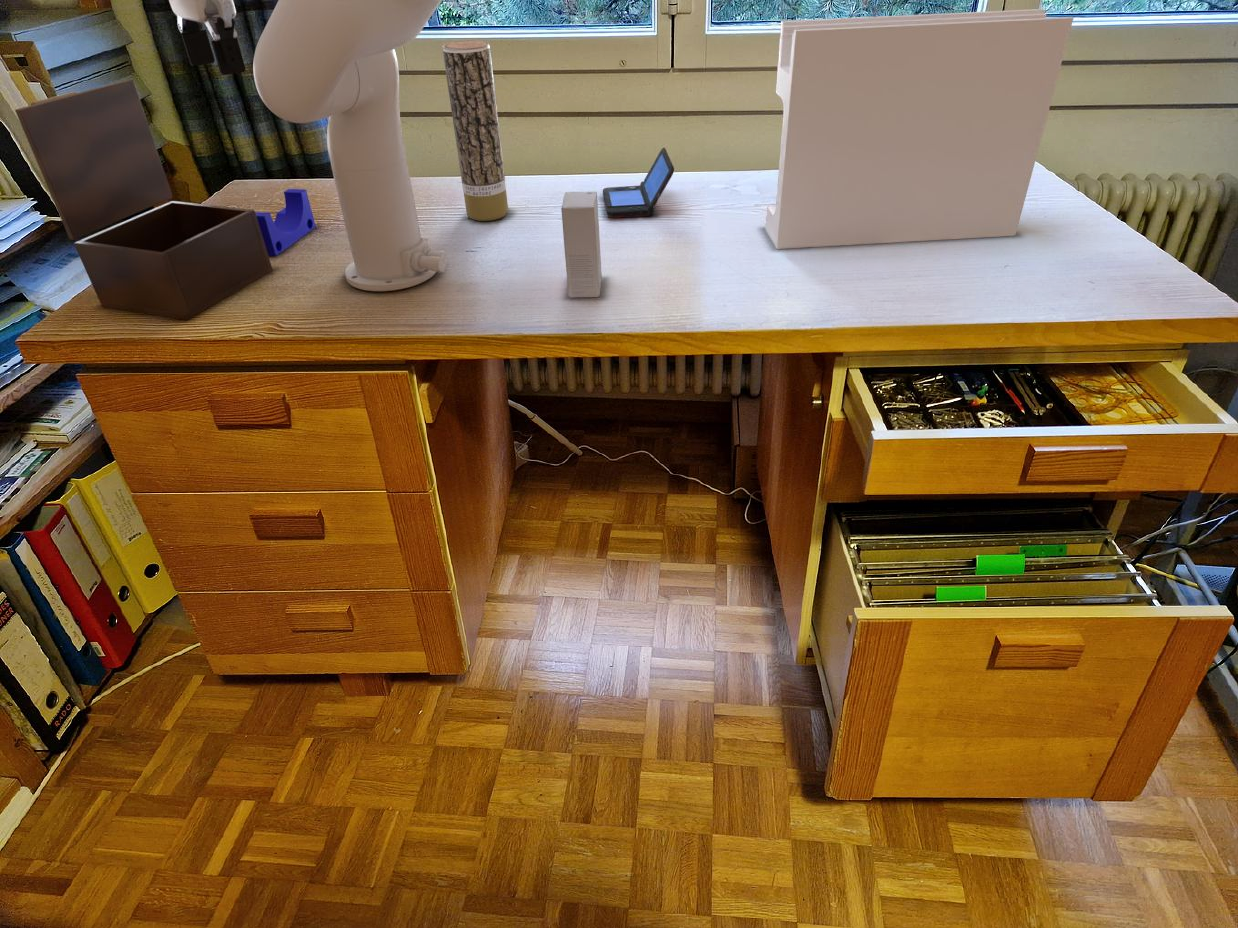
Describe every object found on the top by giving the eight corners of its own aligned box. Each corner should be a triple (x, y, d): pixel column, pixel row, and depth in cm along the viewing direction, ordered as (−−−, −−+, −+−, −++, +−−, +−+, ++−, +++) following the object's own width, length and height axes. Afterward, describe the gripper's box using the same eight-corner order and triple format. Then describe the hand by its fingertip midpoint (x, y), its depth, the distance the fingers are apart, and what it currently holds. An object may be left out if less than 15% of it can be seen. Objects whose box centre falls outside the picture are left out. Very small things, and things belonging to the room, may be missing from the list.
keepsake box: (273, 270, 116) (254, 209, 111) (187, 320, 104) (161, 255, 99) (193, 259, 121) (172, 200, 115) (101, 306, 108) (73, 243, 103)
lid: (133, 79, 106) (102, 76, 107) (19, 110, 93) (-15, 106, 95) (173, 198, 115) (143, 193, 116) (74, 240, 103) (42, 234, 104)
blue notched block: (290, 226, 131) (280, 188, 127) (315, 227, 130) (306, 189, 127) (249, 254, 121) (236, 215, 118) (276, 256, 121) (264, 216, 117)
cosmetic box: (570, 279, 110) (564, 191, 103) (602, 278, 110) (597, 190, 103) (567, 298, 105) (560, 207, 98) (600, 298, 105) (595, 206, 98)
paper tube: (516, 216, 131) (497, 44, 116) (478, 225, 128) (454, 51, 113) (497, 205, 136) (476, 39, 121) (460, 214, 133) (434, 45, 118)
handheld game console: (602, 194, 139) (600, 149, 134) (664, 190, 139) (664, 146, 135) (607, 220, 128) (605, 172, 124) (674, 216, 129) (675, 168, 125)
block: (776, 249, 117) (795, 31, 100) (765, 229, 123) (781, 21, 106) (1015, 235, 118) (1073, 18, 101) (991, 216, 124) (1042, 9, 108)
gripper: (233, -86, 96) (273, 72, 106) (176, -88, 106) (218, 56, 116) (168, -82, 92) (217, 82, 102) (116, -84, 102) (165, 65, 112)
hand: (218, 68), depth 109 cm, fingers open, 9 cm apart
